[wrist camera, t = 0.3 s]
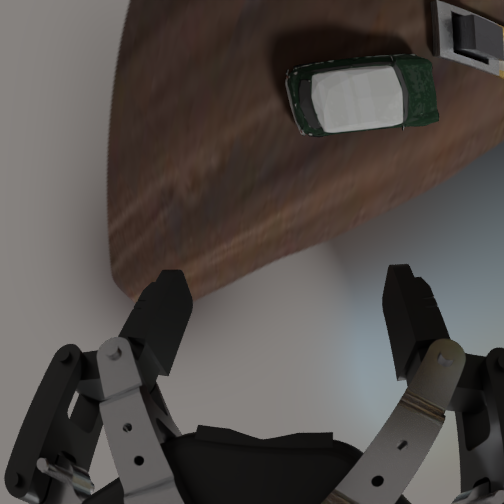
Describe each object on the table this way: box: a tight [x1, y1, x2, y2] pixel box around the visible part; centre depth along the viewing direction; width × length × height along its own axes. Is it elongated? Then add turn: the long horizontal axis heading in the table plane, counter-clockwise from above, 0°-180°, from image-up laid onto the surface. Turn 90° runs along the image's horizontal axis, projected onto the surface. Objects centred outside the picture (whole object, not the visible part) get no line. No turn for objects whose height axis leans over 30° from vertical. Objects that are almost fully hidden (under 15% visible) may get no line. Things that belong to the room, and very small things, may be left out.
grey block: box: [452, 14, 504, 61], centre depth 19 cm, size 5×5×6 cm
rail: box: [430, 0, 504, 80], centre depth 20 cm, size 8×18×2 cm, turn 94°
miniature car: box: [285, 54, 439, 137], centre depth 27 cm, size 9×18×8 cm, turn 105°
